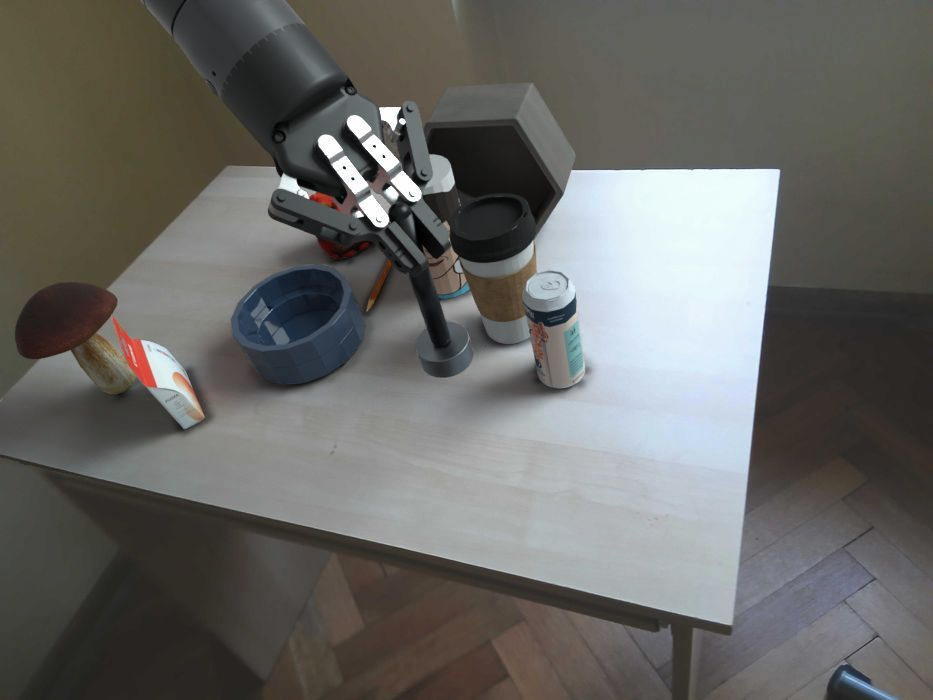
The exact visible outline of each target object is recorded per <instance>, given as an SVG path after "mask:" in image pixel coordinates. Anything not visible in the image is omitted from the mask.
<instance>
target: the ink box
mask: <svg viewBox="0 0 933 700" xmlns="http://www.w3.org/2000/svg"><path fill="white" fill-rule="evenodd" d="M110 318H111V321H112V323H113V326H114V330H115V332H116V335H117V338H118V342H119V345H120V347H121V350H122V355H123V356H124V358H125V361H126V362H127V364H128V365H129V367H130V368H131V370H132V371H133V372H134V374H135V377H137V379H138V380H139V381H140V383H141V384H142V385H143V386H144V388H146V389H147V391H149V393H150V394H151V395H152V396H153V397H154V398H155V399H156V400H157V401H158V402H159V404H160V405H161V406H162V407H163V408H164V409H165V410H166V411H167V412H168V413H169V415H170V416H171V417H172V418H173V419H174V420H175V421H176V422H177V423H178V424H179V425H180V427H181V428H182V429H183V430H186V429H188V428H191V427H193V426H195V425H197V424H199V423H200V422H202V421H203V420H204V419H205V414H204V412H203V409H202V406H201V404H200V402H199V400H198V398H197V395H196V393H195V391H194V388H193V386H192V383H191V381H190V378H189V375H188V373H187V371H186V370H185V368H184V367H183V366H182V365H181V364H180V363H179V361H177V359H176V358H175V357H174V356H173V355H172V354H171V352H170V351H169V350H168V349H167V348H166V347H164V346H162V345H160V344H158V343H156V342H152V341H149V340H146V339H145V340H144V339H137V338H136V339H135V338H131V337H130V336H129V335H128V333H127V332H126V331H125V330H124V329H123V327H122V326H121V325H120V323H119V322H118V321H117V319H115V317H114V316H113V314H111V317H110ZM122 340H123V341H124V343H123V342H122ZM124 344H125V345H124ZM125 348H126V349H125Z"/></svg>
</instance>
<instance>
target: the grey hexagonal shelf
mask: <svg viewBox="0 0 933 700" xmlns="http://www.w3.org/2000/svg"><path fill="white" fill-rule="evenodd" d="M423 130H424V135H425V139H426V144H427V148H428V153H429V154H435V155H439V156H443V157H444V158H446V159H448V161H449V163H450V165H451V169H452V173H453V177H454V181H455V185H456V189H457V193H458V197H459V201H460V205H462V204H464V203H465V202H467V201H469V200H471V199H474V198H477V197H480V196H484V195H490V194H499V193H507V194H515V195H519V196H521V197H523V198H524V199H525V200H526V201H527V203H528V205H529V208H530V211H531V214H532V216H533V217H534V219H535V225H536V235H535V238H534V239H533V241H534V242H535V240H536V238H537V236H538V234H539V233H540V232H541V230H542V228H544V225H545V224H546V223H547V221H548V220H549V218H550V216H551V215H552V213H553V212H554V210H555V209H556V207H557V206H558V205H559V203H560V201H561V200H562V198H563V196H564V195H565V192H566V189H567V186H568V183H569V180H570V176H571V172H572V170H573V166H574V164H575V161H576V157H577V154H576V152H575V151H574V149H573V147H572V146H571V144H570V141H568V139H567V137H566V136H565V133H564V132H563V131H562V128H561V127H560V125H559V124H558V122H557V120H556V119H555V118H554V116H553V114H552V112H551V110H550V109H549V107H548V106H547V104H546V102H545V100H544V99H543V97H542V95H541V94H540V93H539V91H538V89H537V87H536V85H535V84H534V83H533V82H532V81H530V82H529V81H528V82H527V81H526V82H513V83H495V84H493V83H492V84H480V85H479V84H477V85H463V86H462V85H461V86H448V87H446V88H444V91H443V93H442V94H441V96H440V98H439V100H437V102H436V105H435V106H434V108H433V109H432V111H431V114H430V115H429V117H428V118H427V120H426V122H425V124H424V126H423Z"/></svg>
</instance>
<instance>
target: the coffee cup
mask: <svg viewBox="0 0 933 700" xmlns="http://www.w3.org/2000/svg"><path fill="white" fill-rule="evenodd" d="M535 235H536V225H535V219H534V217H533V216H532V214H531V211H530V208H529V205H528V203H527V201H526V200H525V199H524V198H523V197H521V196H519V195H515V194H507V193H499V194H490V195H484V196H480V197H477V198H474V199H471V200H469V201H467V202H465V203H464V204H462V205H461V206H460V207H458V208H457V209H456V210H455V211H454V213H453V214H452V216H451V218H450V242H451V246H452V249H453V251H454V252H455V253H456V254H457V255H458V256H459V261H460V266H461V268H462V271H463V273H464V276H465V278H466V281H467V283H468V286H469V288H470V290H469V291H470V293H471V295H472V298H473V300H474V303H475V305H476V308H477V311H478V312H479V315H480V318H481V320H482V323H483V326H484V329H485V332H486V334H487V335H488V337H489V338H490V339H492V341H494V342H497V343H500V344H504V345H513V344H518V343H521V342H524V341H526V340H528V339H531V338H530V333H529V328H528V323H527V318H526V313H525V308H524V303H523V298H522V293H523V290H524V288H525V286H526V284H527V281H528V280H529V279H530V278H531V277H532V276H533V275H534V274H536V273H538V270H537V269H538V268H537V266H538V265H537V264H538V263H537V247H536V243H535V239H536V238H535ZM534 238H535V239H534ZM533 239H534V241H533Z"/></svg>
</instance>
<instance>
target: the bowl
mask: <svg viewBox="0 0 933 700" xmlns="http://www.w3.org/2000/svg"><path fill="white" fill-rule="evenodd" d="M230 326H231V335H232V336H233V338H234V340H235V342H236V343H237V345H238V346H239V348H240V349H241V352H242V353H243V355H244V356H245V358H246V360H247V361H248V362H249V364H250V365H251V367H252V368H253V369H254V370H255V372H256V373H257V374H258V375H259V376H260V377H261V378H262V379H263V380H266V381H268V382H269V381H270V382H272V383H275V384H278V385H297V384H306V383H308V382H312V381H314V380H317V379H320V378H322V377H325V376H327V375H329V374H331V373H332V372H334V371H335V370H336V369H338V368H339V367H341V366H342V365H344V364H345V363H346V362H348V361H349V360H350V359H351V357H352V356H353V355H354V354H355V352H356V351H357V349H358V348H359V347H360V346H361V344H362V342H363V339H364V334H365V330H366V327H367V325H366V321H365V318H364V314H363V312H362V310H361V307H360V305H359V303H358V301H357V298H356V295H355V292H354V291H353V289H352V286H351V284H350V281H349V279H348V277H347V276H346V275H344V274H343V273H342V272H341V271H339V270H338V269H336V268H335V267H332V266H329V265H323V264H317V263H316V264H314V263H313V264H304V265H297V266H295V265H294V266H292V267H289V268H287V269H283V270H281V271H278V272H275V273H272V274H271V275H269V276H267V277H265V278H264V279H263V280H261V281H260V282H258V283H256V284H255V285H253V286H252V287H251V288H250V289H249V290H248V291H247V292H246V293H245V295H243V297H242V298H240V299H239V301H238V302H237V304H236V306H235V308H234V310H233V313H232V315H231V318H230Z"/></svg>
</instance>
